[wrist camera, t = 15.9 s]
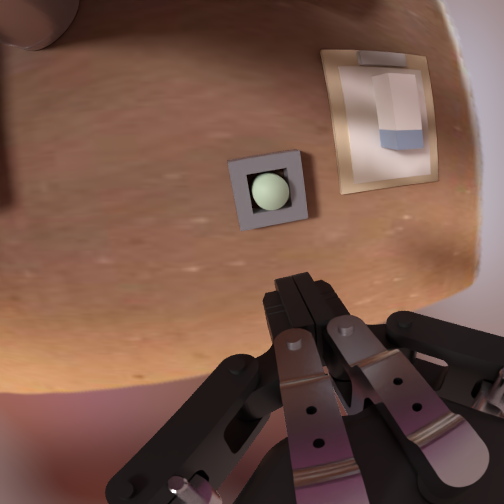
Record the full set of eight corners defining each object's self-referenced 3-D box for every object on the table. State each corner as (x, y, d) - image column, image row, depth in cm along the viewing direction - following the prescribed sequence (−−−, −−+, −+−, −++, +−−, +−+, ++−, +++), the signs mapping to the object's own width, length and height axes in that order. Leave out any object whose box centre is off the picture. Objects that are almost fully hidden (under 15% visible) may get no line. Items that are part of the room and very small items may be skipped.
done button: (248, 174, 30) (250, 178, 28) (280, 169, 30) (286, 172, 28) (253, 206, 31) (256, 213, 29) (285, 200, 31) (291, 206, 29)
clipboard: (319, 50, 26) (324, 48, 24) (423, 57, 26) (429, 55, 25) (340, 193, 32) (344, 196, 31) (435, 179, 33) (442, 182, 31)
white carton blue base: (371, 76, 26) (387, 72, 23) (397, 77, 27) (414, 74, 23) (381, 146, 30) (397, 149, 26) (405, 145, 30) (423, 148, 27)
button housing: (227, 160, 29) (227, 162, 28) (294, 149, 30) (299, 150, 28) (239, 225, 32) (240, 231, 30) (303, 213, 33) (308, 218, 31)
